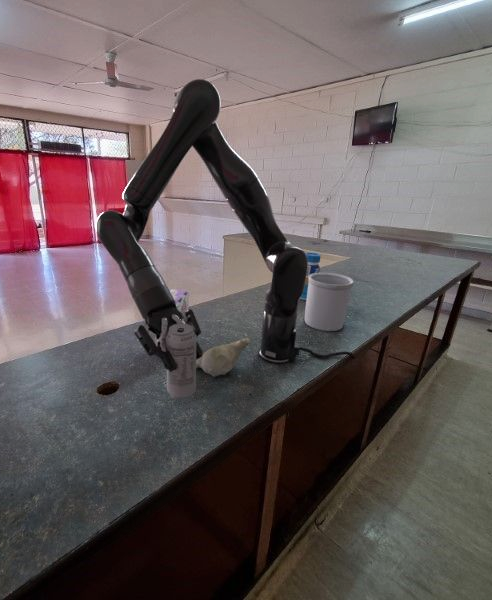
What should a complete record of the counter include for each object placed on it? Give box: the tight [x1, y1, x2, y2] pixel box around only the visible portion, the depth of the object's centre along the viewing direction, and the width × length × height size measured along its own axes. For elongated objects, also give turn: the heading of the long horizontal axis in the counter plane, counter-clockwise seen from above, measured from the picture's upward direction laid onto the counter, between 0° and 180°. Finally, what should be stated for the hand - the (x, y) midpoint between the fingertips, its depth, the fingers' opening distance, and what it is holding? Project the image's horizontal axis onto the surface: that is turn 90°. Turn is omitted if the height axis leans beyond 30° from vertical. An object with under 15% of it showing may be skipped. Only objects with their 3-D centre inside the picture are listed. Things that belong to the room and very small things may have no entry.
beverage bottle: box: [299, 252, 321, 301], centre depth 140 cm, size 8×8×20 cm
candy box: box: [169, 288, 189, 324], centre depth 95 cm, size 14×6×16 cm, turn 168°
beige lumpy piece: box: [196, 337, 251, 378], centre depth 85 cm, size 15×7×15 cm
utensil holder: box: [304, 272, 354, 332], centre depth 114 cm, size 15×15×18 cm
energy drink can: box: [166, 323, 197, 401], centre depth 64 cm, size 6×6×15 cm
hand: (186, 363), depth 63 cm, fingers closed on energy drink can, 6 cm apart
